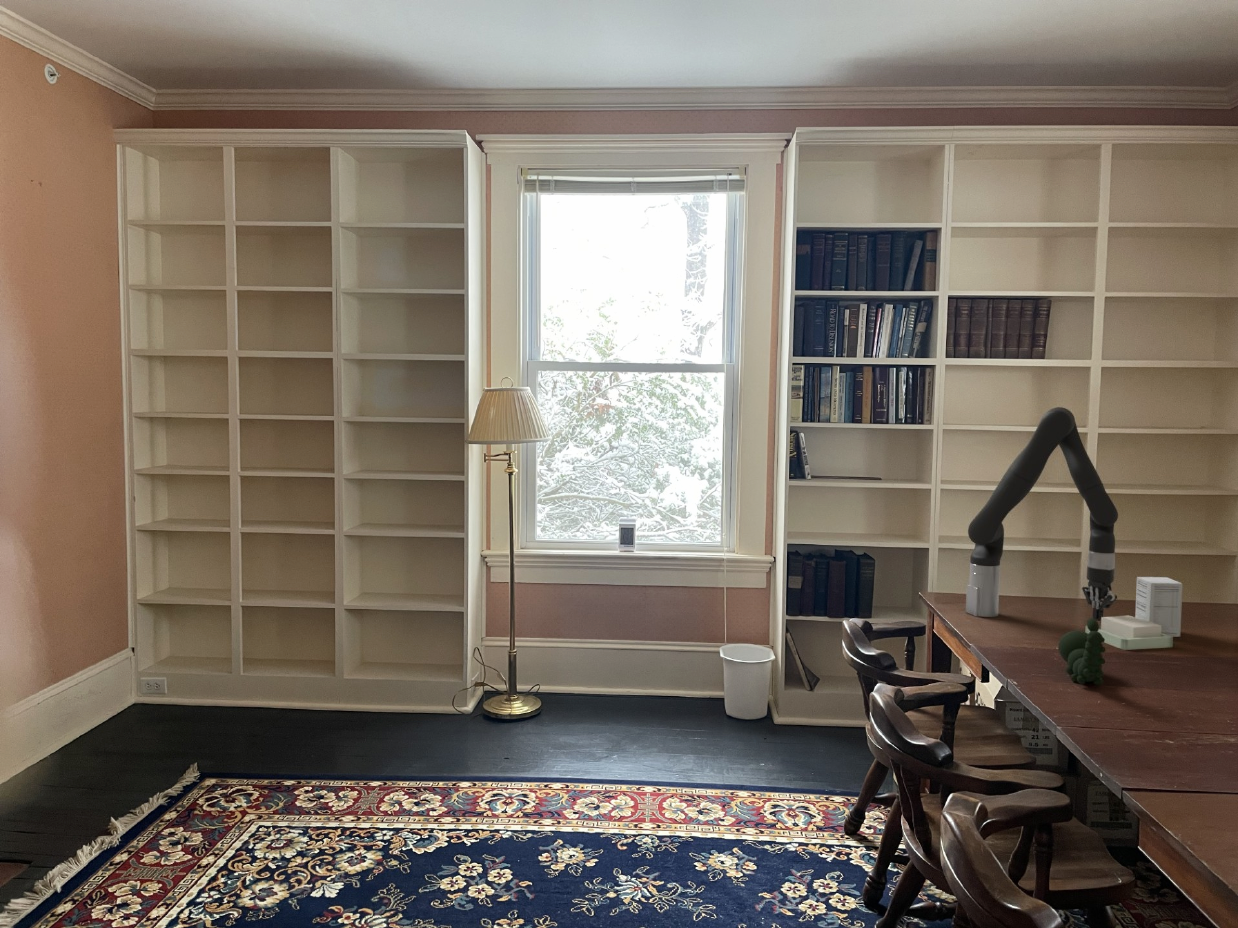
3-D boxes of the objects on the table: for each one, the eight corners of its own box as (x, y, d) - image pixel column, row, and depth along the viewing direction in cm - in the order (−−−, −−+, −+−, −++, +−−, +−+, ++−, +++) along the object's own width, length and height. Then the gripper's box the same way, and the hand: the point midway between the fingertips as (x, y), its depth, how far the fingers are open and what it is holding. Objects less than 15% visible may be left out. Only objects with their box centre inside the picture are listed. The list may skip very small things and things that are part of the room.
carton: (1132, 647, 251) (1133, 627, 251) (1100, 636, 263) (1101, 617, 262) (1160, 645, 254) (1161, 625, 253) (1127, 634, 265) (1128, 615, 265)
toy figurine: (1113, 700, 211) (1089, 661, 235) (1119, 627, 208) (1094, 595, 231) (1071, 696, 214) (1051, 658, 237) (1076, 624, 210) (1055, 593, 234)
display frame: (1123, 649, 248) (1124, 639, 248) (1085, 635, 263) (1085, 625, 263) (1172, 646, 251) (1173, 636, 251) (1131, 632, 266) (1132, 623, 266)
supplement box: (1165, 629, 270) (1168, 576, 269) (1181, 637, 261) (1184, 583, 260) (1133, 628, 271) (1136, 576, 270) (1148, 636, 262) (1151, 582, 261)
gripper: (1075, 561, 273) (1072, 615, 274) (1105, 570, 260) (1102, 626, 261) (1096, 561, 274) (1093, 614, 275) (1127, 569, 261) (1123, 625, 263)
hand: (1097, 620), depth 268 cm, fingers closed
